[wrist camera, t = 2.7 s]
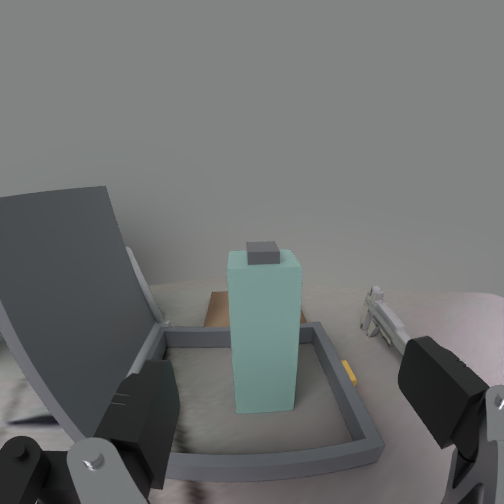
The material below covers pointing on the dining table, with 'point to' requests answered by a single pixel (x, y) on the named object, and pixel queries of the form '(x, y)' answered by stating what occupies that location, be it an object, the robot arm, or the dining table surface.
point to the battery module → (264, 326)
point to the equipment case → (127, 333)
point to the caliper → (383, 320)
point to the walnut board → (223, 311)
